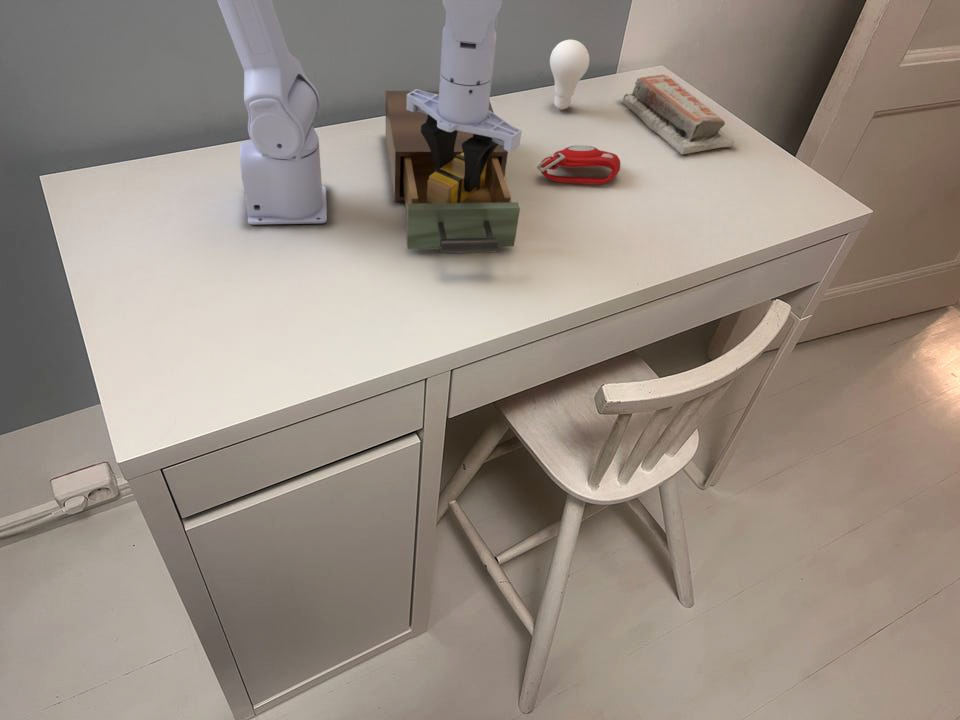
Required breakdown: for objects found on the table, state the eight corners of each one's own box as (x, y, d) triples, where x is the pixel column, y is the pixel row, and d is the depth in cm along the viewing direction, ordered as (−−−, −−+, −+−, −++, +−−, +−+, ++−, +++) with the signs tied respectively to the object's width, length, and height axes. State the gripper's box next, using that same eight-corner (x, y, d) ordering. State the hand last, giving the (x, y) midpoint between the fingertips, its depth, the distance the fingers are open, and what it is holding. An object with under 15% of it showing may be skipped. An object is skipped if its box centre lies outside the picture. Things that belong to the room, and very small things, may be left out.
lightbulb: (539, 99, 120) (550, 32, 112) (575, 101, 121) (588, 34, 113) (545, 117, 116) (557, 48, 108) (582, 118, 117) (596, 50, 109)
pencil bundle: (461, 174, 93) (463, 149, 90) (485, 184, 92) (487, 159, 89) (424, 202, 88) (425, 176, 85) (448, 213, 87) (450, 187, 84)
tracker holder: (563, 139, 109) (628, 144, 105) (562, 169, 111) (626, 175, 107) (531, 154, 100) (600, 160, 95) (530, 186, 102) (598, 194, 98)
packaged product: (626, 74, 119) (675, 69, 122) (619, 102, 122) (667, 96, 126) (690, 127, 108) (743, 120, 111) (681, 157, 111) (732, 148, 115)
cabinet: (501, 200, 98) (508, 151, 93) (394, 202, 95) (395, 151, 90) (481, 139, 109) (486, 92, 104) (385, 138, 107) (385, 90, 101)
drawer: (522, 272, 86) (528, 233, 82) (411, 275, 84) (412, 235, 80) (492, 178, 100) (497, 141, 96) (396, 179, 98) (397, 140, 94)
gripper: (390, 65, 79) (390, 174, 89) (503, 108, 75) (489, 219, 84) (428, 45, 84) (423, 152, 93) (537, 86, 79) (520, 193, 89)
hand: (457, 182), depth 89 cm, fingers closed on pencil bundle, 3 cm apart
